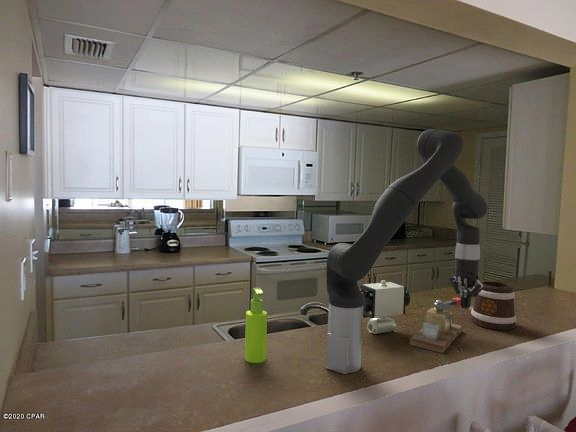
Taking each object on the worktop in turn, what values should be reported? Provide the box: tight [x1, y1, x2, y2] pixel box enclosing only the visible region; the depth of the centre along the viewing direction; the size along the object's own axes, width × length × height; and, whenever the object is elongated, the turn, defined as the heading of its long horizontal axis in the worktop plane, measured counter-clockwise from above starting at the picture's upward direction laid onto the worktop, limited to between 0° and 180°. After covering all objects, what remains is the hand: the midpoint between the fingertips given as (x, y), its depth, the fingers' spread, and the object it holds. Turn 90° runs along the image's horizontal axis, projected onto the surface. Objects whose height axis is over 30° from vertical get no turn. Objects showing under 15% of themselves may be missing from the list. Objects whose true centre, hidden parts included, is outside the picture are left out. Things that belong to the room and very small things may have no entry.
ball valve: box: [359, 279, 411, 335], centre depth 137 cm, size 18×8×18 cm, turn 115°
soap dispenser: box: [244, 287, 268, 364], centre depth 111 cm, size 6×7×20 cm
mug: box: [467, 280, 517, 331], centre depth 150 cm, size 20×15×15 cm
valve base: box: [409, 323, 463, 354], centre depth 133 cm, size 24×10×2 cm, turn 144°
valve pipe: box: [422, 307, 453, 341], centre depth 133 cm, size 18×6×7 cm, turn 144°
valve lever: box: [433, 297, 462, 312], centre depth 135 cm, size 13×3×3 cm, turn 126°
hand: (465, 308), depth 136 cm, fingers closed
